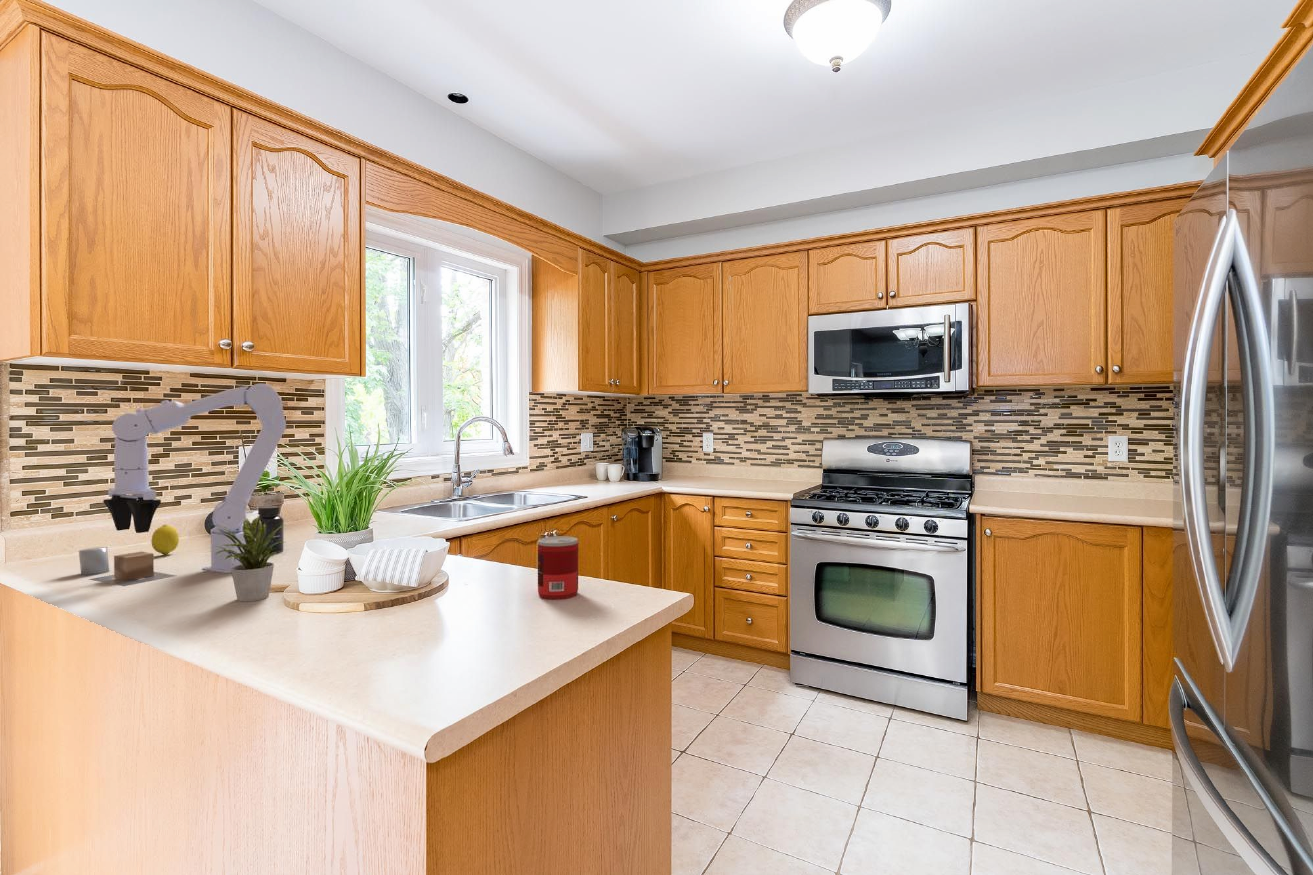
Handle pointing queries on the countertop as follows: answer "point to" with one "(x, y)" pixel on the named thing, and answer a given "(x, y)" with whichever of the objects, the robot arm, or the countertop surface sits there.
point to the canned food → (557, 567)
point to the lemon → (165, 539)
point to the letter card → (111, 580)
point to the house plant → (251, 562)
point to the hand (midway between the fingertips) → (132, 531)
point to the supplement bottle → (272, 527)
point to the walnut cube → (133, 566)
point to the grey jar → (94, 561)
